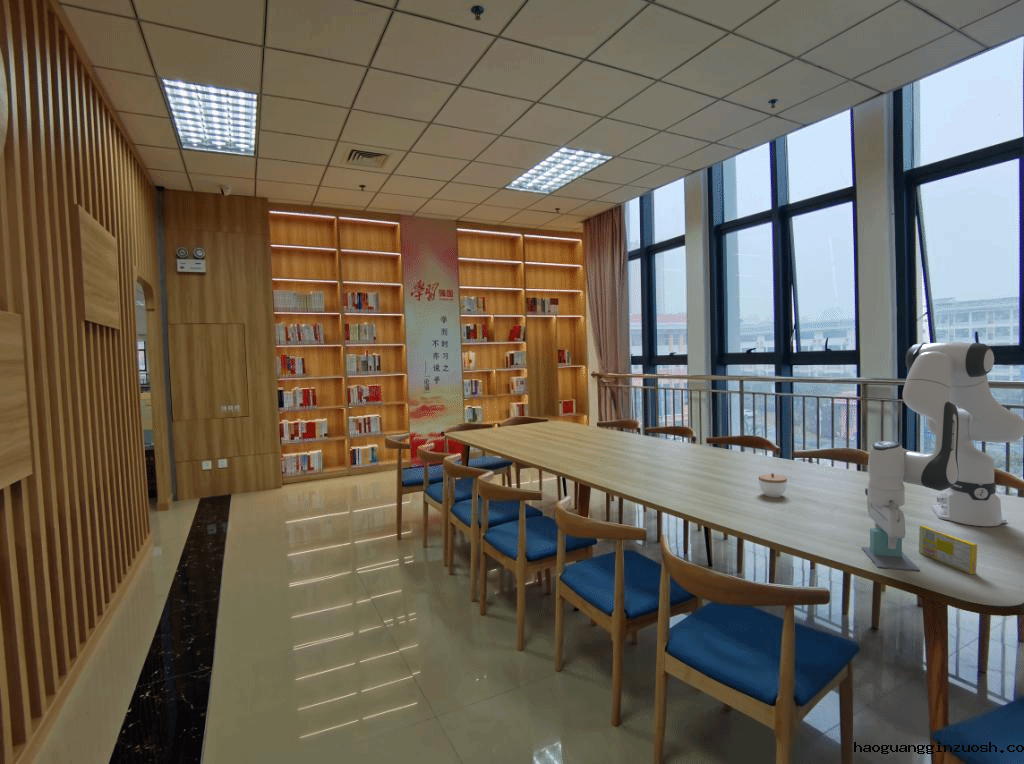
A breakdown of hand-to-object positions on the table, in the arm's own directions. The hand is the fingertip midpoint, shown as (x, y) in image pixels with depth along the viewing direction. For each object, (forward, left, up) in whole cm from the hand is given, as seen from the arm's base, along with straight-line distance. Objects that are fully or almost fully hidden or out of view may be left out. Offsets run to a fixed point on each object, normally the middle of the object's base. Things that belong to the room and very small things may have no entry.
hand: (885, 542), depth 155 cm
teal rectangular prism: (0, 0, -4) cm, 4 cm away
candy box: (+2, +14, -4) cm, 15 cm away
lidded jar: (-61, -23, -4) cm, 65 cm away
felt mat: (+3, 0, -4) cm, 5 cm away
